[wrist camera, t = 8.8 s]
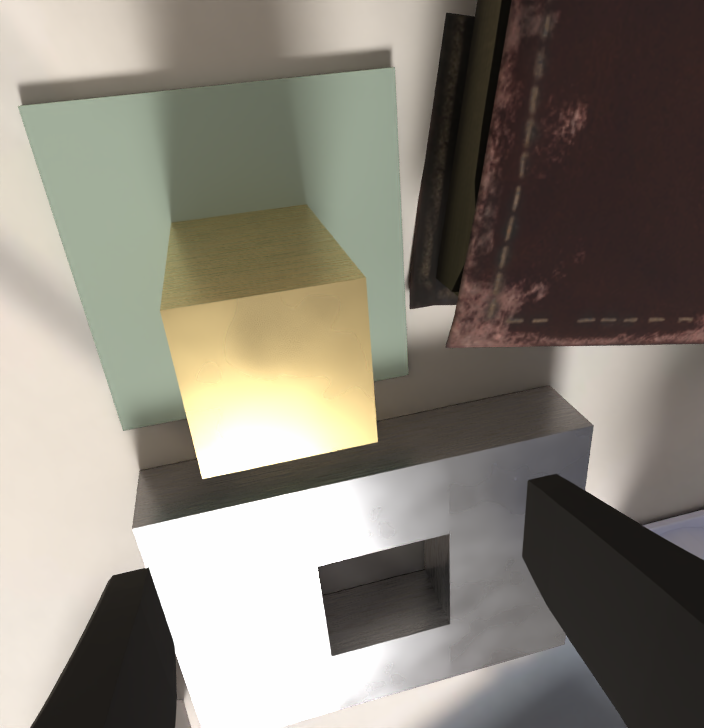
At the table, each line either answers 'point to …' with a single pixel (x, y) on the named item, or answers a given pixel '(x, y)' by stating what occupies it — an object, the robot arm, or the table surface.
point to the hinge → (181, 716)
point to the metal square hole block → (352, 539)
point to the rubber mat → (217, 202)
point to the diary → (566, 175)
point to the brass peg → (267, 338)
